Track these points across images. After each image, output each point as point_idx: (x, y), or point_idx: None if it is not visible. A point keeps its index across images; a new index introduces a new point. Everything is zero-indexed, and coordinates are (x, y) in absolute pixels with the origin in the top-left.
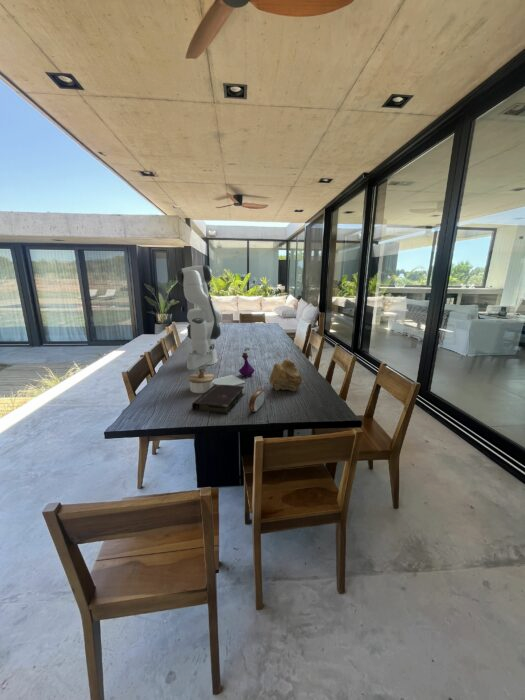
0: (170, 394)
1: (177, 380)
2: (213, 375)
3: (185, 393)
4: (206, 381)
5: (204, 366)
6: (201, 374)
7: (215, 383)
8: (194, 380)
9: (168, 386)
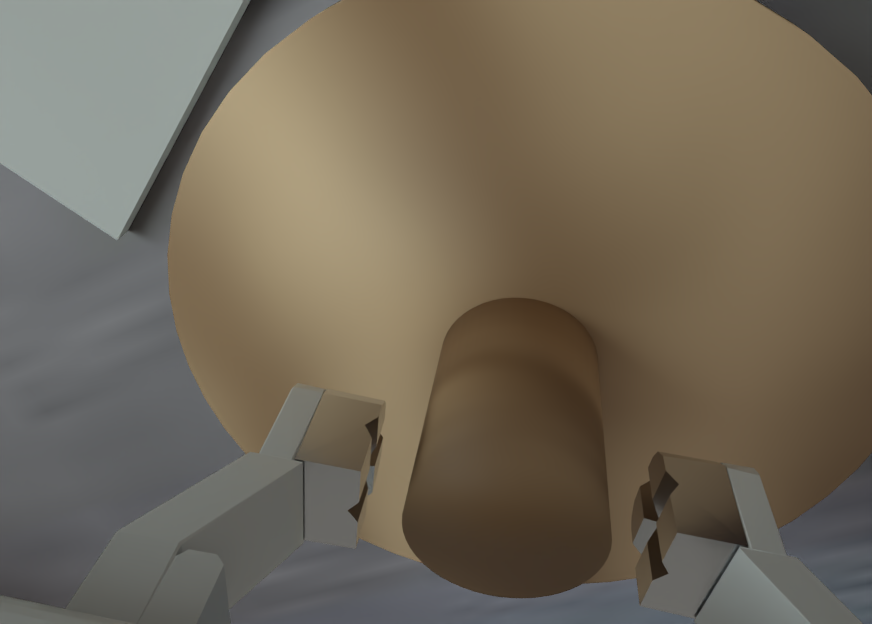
0: (836, 538)
1: (324, 592)
2: (270, 62)
3: None
4: (853, 82)
5: (239, 546)
6: (591, 403)
7: (207, 29)
8: (837, 428)
9: (544, 618)
